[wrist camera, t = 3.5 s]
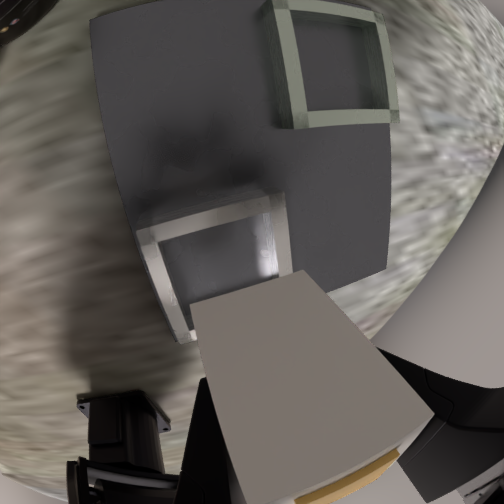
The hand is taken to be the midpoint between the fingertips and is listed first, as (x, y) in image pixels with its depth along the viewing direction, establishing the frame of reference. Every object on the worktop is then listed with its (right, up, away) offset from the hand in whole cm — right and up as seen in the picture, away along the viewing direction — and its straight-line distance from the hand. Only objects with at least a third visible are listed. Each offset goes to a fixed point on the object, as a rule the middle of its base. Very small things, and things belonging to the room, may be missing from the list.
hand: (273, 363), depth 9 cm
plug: (0, +1, +1) cm, 2 cm away
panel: (0, +9, +6) cm, 10 cm away
